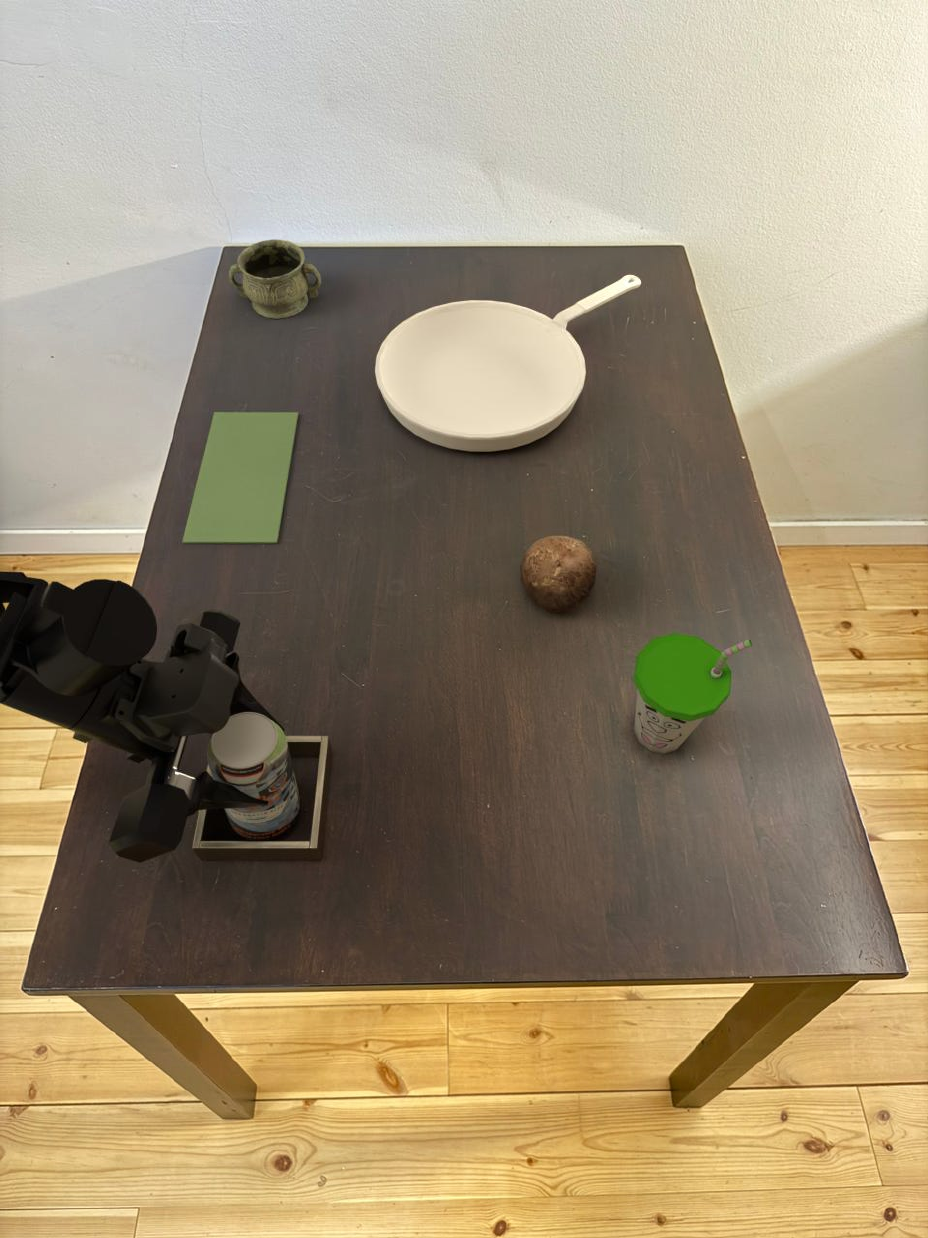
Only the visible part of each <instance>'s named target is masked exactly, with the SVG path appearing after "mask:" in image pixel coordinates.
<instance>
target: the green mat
mask: <svg viewBox="0 0 928 1238" xmlns="http://www.w3.org/2000/svg"><path fill="white" fill-rule="evenodd" d="M298 419H299V412H298V411H296V412H295V411H294V412H293V411H291V412H289V411H287V412H286V411H284V412H280V411H278V412H277V411H273V412H272V411H271V412H269V411H267V412H265V411H262V412H261V411H259V412H257V411H252V412H251V411H249V412H248V411H243V412H242V411H215V412H213V416H212V420H211V424H210V427H209V431H208V435H207V440H206V443H205V448H204V452H203V456H202V459H201V464H200V468H199V472H198V476H197V479H196V484H195V489H194V493H193V497H192V500H191V504H190V508H189V512H188V516H187V520H186V525H185V529H184V533H183V537H182V541H181V543H182V544H184V545H185V544H187V545H188V544H197V545H198V544H202V545H203V544H205V545H207V544H211V545H212V544H213V545H214V544H217V545H219V544H221V545H225V544H229V545H230V544H231V545H232V544H237V545H238V544H240V545H241V544H242V545H243V544H244V545H246V544H247V545H250V544H252V545H257V544H259V545H272V544H273V545H277V544H278V543H279V537H280V535H279V534H280V530H281V523H282V518H283V512H284V505H285V499H286V493H287V487H288V481H289V475H290V469H291V463H292V457H293V451H294V446H295V445H294V444H295V438H296V433H297V427H298Z"/></svg>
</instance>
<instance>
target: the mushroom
mask: <svg viewBox="0 0 928 1238" xmlns="http://www.w3.org/2000/svg"><path fill="white" fill-rule="evenodd" d="M595 559H596V558H595V556H594V553H593V551H592V550H591V549H590V548H589V547H588V546H587V545H586V544H585V543H584V541H583V540H580V539H576V538H575V537H572V536H570V535H549V536H546V537H542V538H540V539H538V540H537V539H536V540H535V541H534V543H532V544H531V546H530V547H528V549H527V550H525V551H524V554H523V557H522V560H521V562H520V565H519V569H520V570H519V573H520V583H521V584H522V587H523V589H524V592H525V594H526V595H527V596H528V597H529V598H530V599H531V600H532V601H533V603H535V604H536V605H537V606H538V607H541V608H542V609H543V610H545V611H547V612H548V613H567V612H569V611H571V610H574V609H576V608H579V607H581V605H582V604H583V603H585V601H586V600H587V599H588V598H589V597H590V595H591V593H592V591H593V589H594V586H595V584H596V580H597V571H598V570H597V568H598V567H597V563H596V560H595Z"/></svg>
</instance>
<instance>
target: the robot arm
mask: <svg viewBox="0 0 928 1238" xmlns="http://www.w3.org/2000/svg"><path fill="white" fill-rule="evenodd" d="M4 604H7V606H6V607H5V605H4ZM156 617H157V616H156V615H155V612H154V610H153V607H152V606H151V604H150V603H149V601H148V600H147V598H146V597H145V596H144V595H143V594H142V593H141V592H140V591H139V590H138V589H136V588H135V587H133V586H132V585H130V584H129V583H126V582H124V581H122V580H114V579H113V580H112V579H107V578H95V579H91V580H87V581H84V582H82V583H81V584H79V585H77V586H75V587H74V588H72V587H69V586H68V585H65V584H63V583H61V582H59V581H53V580H52V581H51V582H50V583H49V581H47V580H46V579H43V578H37V577H32V576H31V577H30V576H28V575H26V574H25V572H23V571H4V570H0V705H3V706H5V707H8V708H11V709H14V710H16V711H19V712H21V713H24V714H26V715H29V716H32V717H34V718H37V719H39V720H42V721H45V722H48V723H50V724H53V725H55V726H58V727H61V728H63V729H65V730H69V731H71V732H74V733H73V736H72V739H73V740H75V741H78V742H81V743H84V744H88V743H89V742H91V741H92V740H95V741H97V742H100V743H103V744H106V745H108V746H111V747H114V748H116V749H119V750H121V751H123V752H127V754H126V760H129V761H131V762H134V763H137V764H141V763H142V762H145V761H146V760H148V761H150V766H149V769H148V773H147V775H146V779H145V782H144V785H143V787H141V788H139V789H137V790H135V791H133V792H131V793H129V794H127V795H125V796H123V797H122V799H121V803H120V806H119V809H118V812H117V815H116V818H115V822H114V825H113V828H112V830H111V834H110V838H109V840H108V844H109V846H110V848H111V849H112V850H113V852H114V853H115V854H116V855H117V856H118V857H119V858H122V859H126V860H129V861H133V862H136V863H139V864H141V863H143V862H147V861H149V860H151V859H155V858H156V857H160V856H162V855H164V854H165V855H166V854H167V853H170V852H172V851H175V850H176V849H177V848H178V846H179V845H180V843H181V841H182V839H183V835H184V831H185V829H186V828H185V827H186V825H187V820H188V817H190V816H193V815H195V814H196V813H197V812H199V810H208V809H217V810H222V809H223V810H225V809H230V808H247V807H252V806H266V805H268V803H269V801H265V800H260V799H257V798H254V797H251V796H249V795H247V794H245V793H243V792H241V791H240V790H238V789H237V788H235V787H234V786H232V785H228V784H225V783H222V782H219V781H216V780H214V779H213V778H212V776H211V775H210V774H209V773H208V772H207V770H203V771H201V772H199V773H197V774H195V775H193V776H191V775H188V774H186V773H183V772H180V771H179V769H180V765H181V763H182V759H183V757H184V756H183V755H184V751H185V749H186V745H187V741H188V738H189V737H190V736H195V735H200V734H210V735H211V734H213V733H216V732H218V731H220V730H221V729H223V728H224V727H225V725H226V724H227V722H228V720H229V717H230V716H233V715H235V714H239V713H244V712H254V713H259V714H262V715H264V716H266V717H267V718H269V719H270V720H272V721H274V722H275V723H276V724H277V725H279V727H280V728H281V729H282V730H283V732H284V733H285V728H284V727H283V726H282V724H281V723H280V722H279V721H278V720H277V719H276V718H275V717H274V716H273V715H272V714H271V713H270V712H269V711H268V710H267V709H266V708H265V707H264V706H263V705H262V704H261V703H260V702H259V700H258V699H257V698H256V697H254V695H253V694H252V693H251V692H250V690H249V689H248V687H246V685H245V684H244V683H243V680H242V679H241V674H240V668H239V662H240V655H238V653H237V652H234V649H235V643H236V641H237V638H238V634H239V630H240V627H241V621H240V620H239V619H237V618H236V617H234V616H233V615H230V614H229V613H226V612H224V611H222V610H216V609H210V610H205V611H203V612H201V613H200V614H199V615H198V616H196V617H194V618H193V619H192V620H190V621H189V622H188V623H184V624H180V625H179V624H178V625H177V627H176V629H175V632H174V635H173V638H172V641H171V644H170V649H169V650H167V651H166V655H165V656H164V657H165V658H164V661H153V660H149V659H148V660H147V659H146V658H145V657H147V655H148V654H149V653H150V652H151V651H152V649H153V647H154V646H155V643H156V642H157V641H156V640H157V634H158V624H157V618H156ZM231 652H232V653H231ZM230 653H231V654H230ZM228 654H229V655H228Z"/></svg>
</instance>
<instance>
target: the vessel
mask: <svg viewBox="0 0 928 1238" xmlns="http://www.w3.org/2000/svg"><path fill="white" fill-rule="evenodd" d="M304 262H305V253H304V251H303V249H302V248H301V247H300V246H298V244H296V243H294V242H292V241H289V240H283V239H277V238H276V239H268V240H267V239H266V240H261V241H258V242H255V243H253V244H251V245H249V246H248V247H246V248H244V249H243V250H242V251H241V252H240V254H239V255H238V257H237V263H235V264H231V266H230V268H229V271H228V278H229V281H230V283H231V285H232V286H233V287H234V288H235V289H237V291H238V296H240V297H241V298H248V299H249V300H250V301H251V307H252V309H253V310H254V311H255V312H256V313H257V314H258V315H260V316H262V317H264V318H267V319H274V320H277V319H286V318H287V319H288V318H290V317H292V316H296V315H298V314H299V313H300V312H302V311H304V309H305V308H306V307H307V305H308V303H309V299H308V295H309V297H310V299H311V298H312V299H315V298H317V297H318V296H319V292H318V289H319V288H320V287H321V284H322V277H321V273H320V272H319V270H318V269H317V268H316V267H315V266H314V265H313V264H311V263H304ZM235 274H242V283H239V282H237V281H236V280H235V277H234V276H235ZM309 274H310V275H312V276H314V277H315V283H312V284H310V278H309ZM307 293H308V294H307Z"/></svg>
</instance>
